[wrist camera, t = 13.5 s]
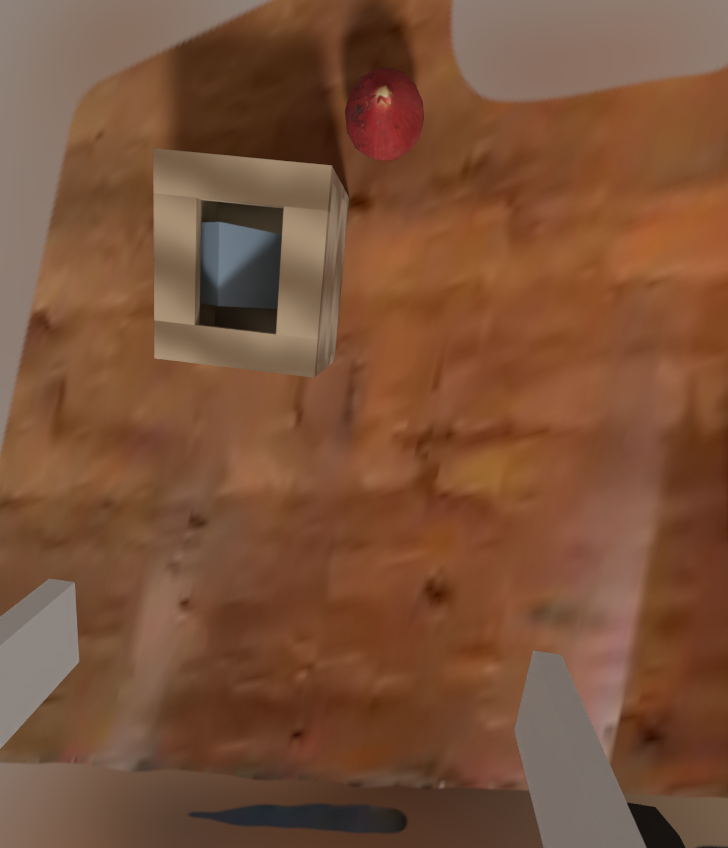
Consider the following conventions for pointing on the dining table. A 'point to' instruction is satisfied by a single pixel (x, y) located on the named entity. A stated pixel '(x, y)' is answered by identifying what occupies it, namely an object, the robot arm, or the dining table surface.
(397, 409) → the dining table surface
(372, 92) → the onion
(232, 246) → the blue-gray block
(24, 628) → the robot arm
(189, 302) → the wooden box
